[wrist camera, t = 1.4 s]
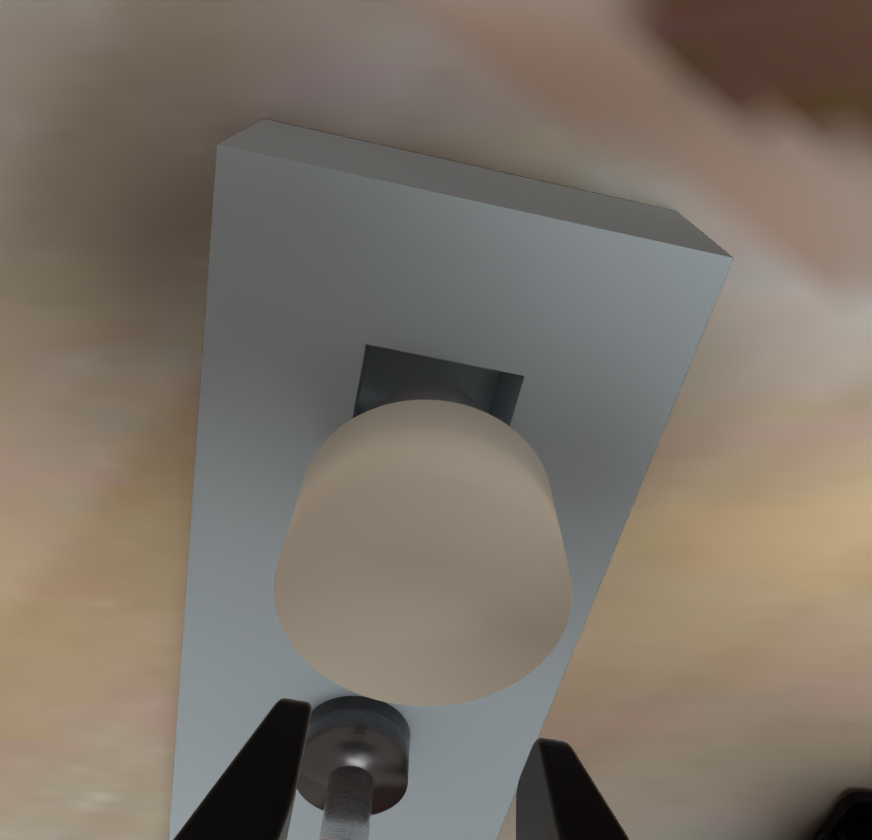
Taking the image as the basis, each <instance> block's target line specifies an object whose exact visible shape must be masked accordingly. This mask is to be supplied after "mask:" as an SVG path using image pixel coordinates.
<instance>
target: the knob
mask: <svg viewBox="0 0 872 840" xmlns="http://www.w3.org/2000/svg"><path fill="white" fill-rule="evenodd" d="M274 600H275V608H276V611H277V615H278V618H279V622H280V624H281V626H282V628H283V630H284V632H285V634H286V636H287V638H288V639H289V641H290V642H291V644H292V645H293V647H294V648H295V649H296V651H297V652H298V653H299V654H300V655H301V656H302V657H303V659H304V660H305V661H306V662H307V663H309V664H310V665H311V666H312V667H313V668H314V669H315V670H316V671H318V672H319V673H321V674H322V675H323V676H325V677H326V678H328V679H329V680H331V681H332V682H334V683H336V684H338V685H340V686H342V687H343V688H345V689H348V690H350V691H352V692H355V693H357V694H360V695H362V696H365V697H369V698H372V699H375V700H378V701H383V702H388V703H393V704H400V705H409V706H442V705H452V704H457V703H463V702H468V701H472V700H476V699H479V698H483V697H486V696H488V695H491V694H493V693H496V692H499V691H501V690H503V689H505V688H507V687H509V686H511V685H513V684H514V683H516V682H518V681H519V680H521V679H522V678H524V677H525V676H527V675H528V674H529V673H530V672H532V671H533V670H534V669H535V668H536V667H538V666H539V665H540V664H541V663H542V662H543V661H544V660H545V659H546V657H547V656H548V655H549V654H550V653H551V652H552V650H553V649H554V647H555V646H556V644H557V643H558V642H559V640H560V638H561V636H562V634H563V632H564V630H565V628H566V625H567V622H568V619H569V615H570V612H571V604H572V581H571V576H570V572H569V567H568V562H567V558H566V554H565V549H564V545H563V540H562V536H561V531H560V527H559V523H558V518H557V514H556V509H555V505H554V500H553V496H552V492H551V487H550V483H549V479H548V476H547V474H546V471H545V469H544V466H543V464H542V463H541V461H540V459H539V458H538V456H537V454H536V453H535V451H534V450H533V449H532V448H531V446H530V445H529V444H528V443H527V441H526V440H525V439H524V438H522V437H521V436H520V435H519V434H518V433H517V432H516V431H515V430H514V429H512V428H511V427H510V426H508V425H507V424H505V423H504V422H503V421H501V420H499V419H497V418H495V417H494V416H492V415H490V414H488V413H486V412H483V411H482V409H481V408H480V406H479V405H478V404H477V403H476V401H474V400H473V399H472V398H471V397H470V396H469V395H467V394H466V393H465V392H463V391H461V390H459V389H457V388H455V387H452V386H450V385H446V384H442V383H435V382H422V383H415V384H411V385H408V386H405V387H402V388H400V389H398V390H396V391H394V392H393V393H391V394H390V395H389V396H387V397H386V398H385V399H384V400H383V401H382V402H381V403H380V405H379V406H378V407H377V408H374V409H371V410H368V411H366V412H364V413H362V414H360V415H358V416H356V417H354V418H352V419H351V420H349V421H348V422H346V423H345V424H343V425H342V426H341V427H339V428H338V429H337V430H336V431H335V432H333V433H332V434H331V435H330V436H329V437H328V438H327V439H326V440H325V441H324V443H323V444H322V445H321V446H320V447H319V449H318V450H317V451H316V453H315V455H314V456H313V458H312V460H311V461H310V463H309V466H308V468H307V471H306V473H305V476H304V479H303V482H302V485H301V488H300V492H299V495H298V498H297V501H296V505H295V508H294V511H293V514H292V518H291V521H290V524H289V527H288V531H287V534H286V537H285V540H284V544H283V547H282V550H281V553H280V556H279V560H278V563H277V568H276V572H275V576H274Z"/></svg>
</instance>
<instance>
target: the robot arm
mask: <svg viewBox="0 0 872 840" xmlns="http://www.w3.org/2000/svg"><path fill="white" fill-rule="evenodd" d="M311 711H312V706H311V704H310V703H309V702H306V701H300V700H293V699H287V698H282V699H280V700H279V701H277V702H276V703H275V705H274V706H273V707H272V709H271V710H270V711H269V713H268V714H267V715H266V717H265V718H264V719H263V721H262V722H261V723H260V725H259V726H258V727H257V729H256V730H255V731H254V733H253V734H252V735H251V737H250V738H249V739H248V741H247V742H246V743H245V745H244V746H243V747H242V749H241V750H240V751H239V753H238V754H237V755H236V757H235V758H234V759H233V761H232V762H231V763H230V765H229V766H228V767H227V769H226V770H225V771H224V773H223V774H222V775H221V777H220V778H219V779H218V781H217V782H216V783H215V785H214V786H213V787H212V788H211V790H210V791H209V792H208V794H207V795H206V796H205V798H204V799H203V800H202V802H201V803H200V804H199V806H198V807H197V808H196V810H195V811H194V812H193V814H192V815H191V816H190V818H189V819H188V820H187V822H186V823H185V824H184V826H183V827H182V828H181V830H180V831H179V832H178V834H177V835H176V836H175V838H174V839H173V840H287V837H288V831H289V826H290V821H291V816H292V811H293V805H294V800H295V795H296V790H297V785H298V780H299V774H300V769H301V764H302V759H303V754H304V748H305V743H306V738H307V733H308V727H309V722H310V717H311ZM516 840H629V838H628V836H627V835H626V833H625V832H624V830H623V828H622V827H621V825H620V824H619V822H618V820H617V819H616V817H615V816H614V814H613V812H612V811H611V809H610V808H609V806H608V804H607V803H606V801H605V800H604V798H603V796H602V795H601V793H600V792H599V790H598V788H597V787H596V785H595V784H594V782H593V780H592V779H591V777H590V776H589V774H588V772H587V771H586V769H585V768H584V766H583V764H582V763H581V761H580V760H579V758H578V756H577V755H576V753H575V752H574V750H573V749H572V747H571V746H570V745H569V744H567V743H566V742H563V741H557V740H551V739H544V738H539V739H537V740H536V741H535V742H534V744H533V746H532V748H531V751H530V753H529V756H528V758H527V760H526V763H525V765H524V768H523V770H522V773H521V775H520V778H519V782H518V787H517V796H516ZM813 840H872V794H869V793H863V792H855V793H851V794H849V795H847V796H845V797H844V798H843V799H842V801H841V802H840V803H839V805H838V806H837V807H836V809H835V810H834V811H833V813H832V814H831V816H830V817H829V818H828V820H827V821H826V822H825V824H824V825H823V826H822V828H821V829H820V830H819V832H818V833H817V835H816V836H815V837H814V839H813Z"/></svg>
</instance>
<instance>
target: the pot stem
mask: <svg viewBox="0 0 872 840" xmlns="http://www.w3.org/2000/svg"><path fill="white" fill-rule="evenodd" d="M409 751H410V728H409V725H408V723H407V721H406V719H405V718H404V717H403V715H402V714H401V713H400V712H399V711H398V710H397V709H395V708H394V707H392V706H391V705H389V704H387V703H385V702H383V701H378V700H375V699H372V698H369V697H364V696H343V697H337V698H334V699H330V700H328V701H325V702H324V703H322V704H320V705H318V706H317V707H316V708H314V709H313V710H312V711H311V717H310V722H309V727H308V733H307V738H306V743H305V748H304V754H303V759H302V764H301V769H300V774H299V780H298V785H297V789H298V791H299V793H300V794H301V796H302V797H303V798H304V799H305V800H306V801H308V802H309V803H310V804H311V805H313V806H315V807H316V808H318V809H320V810H323V818H322V824H321V831H320V837H319V840H369V829H370V819H371V815H374V814H378V813H381V812H384V811H386V810H388V809H390V808H392V807H393V806H395V805H396V804H397V803H398V802H399V801H400V800H401V799H402V798H403V796H404V795H405V793H406V790H407V786H408V771H409Z"/></svg>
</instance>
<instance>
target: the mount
mask: <svg viewBox="0 0 872 840" xmlns="http://www.w3.org/2000/svg"><path fill="white" fill-rule="evenodd" d="M732 261H733V257H732V256H731V255H729V254H728V253H727V252H726V251H725V250H723V249H722V248H721V247H720V246H718V245H717V244H716V243H715V242H714V241H712V240H711V239H710V238H709V237H708V236H706V235H705V234H704V233H703V232H701V231H700V230H699V229H698V228H697V227H695V226H694V225H693V224H692V223H691V222H689V221H688V220H687V219H686V218H684V217H683V216H682V215H681V214H680V213H678V212H677V211H673V210H668V209H664V208H659V207H655V206H650V205H646V204H642V203H637V202H633V201H628V200H624V199H619V198H615V197H610V196H606V195H601V194H597V193H593V192H588V191H584V190H579V189H575V188H570V187H566V186H561V185H557V184H552V183H548V182H543V181H539V180H535V179H530V178H526V177H521V176H517V175H512V174H508V173H503V172H499V171H494V170H490V169H486V168H481V167H477V166H472V165H468V164H463V163H459V162H454V161H450V160H445V159H441V158H437V157H432V156H428V155H423V154H419V153H414V152H410V151H405V150H401V149H396V148H392V147H388V146H383V145H379V144H374V143H370V142H365V141H361V140H356V139H352V138H347V137H343V136H339V135H334V134H330V133H325V132H321V131H316V130H312V129H307V128H303V127H298V126H294V125H290V124H285V123H281V122H276V121H272V120H267V119H263V120H261V121H259V122H257V123H255V124H253V125H252V126H250V127H248V128H246V129H244V130H242V131H240V132H239V133H237V134H235V135H233V136H231V137H229V138H228V139H226V140H224V141H222V142H220V143H218V144H217V151H216V166H215V180H214V194H213V209H212V223H211V238H210V252H209V267H208V281H207V295H206V310H205V324H204V339H203V353H202V367H201V382H200V396H199V411H198V425H197V439H196V454H195V468H194V483H193V497H192V511H191V526H190V540H189V555H188V569H187V584H186V598H185V612H184V627H183V641H182V656H181V670H180V684H179V699H178V713H177V728H176V742H175V756H174V771H173V785H172V800H171V814H170V828H169V840H173V839H174V838H175V836H176V835H177V834H178V832H179V831H180V830H181V828H182V827H183V826H184V824H185V823H186V822H187V820H188V819H189V818H190V816H191V815H192V814H193V812H194V811H195V810H196V808H197V807H198V806H199V804H200V803H201V802H202V800H203V799H204V798H205V796H206V795H207V794H208V792H209V791H210V790H211V788H212V787H213V786H214V785H215V783H216V782H217V781H218V779H219V778H220V777H221V775H222V774H223V773H224V771H225V770H226V769H227V767H228V766H229V765H230V763H231V762H232V761H233V759H234V758H235V757H236V755H237V754H238V753H239V751H240V750H241V749H242V747H243V746H244V745H245V743H246V742H247V741H248V739H249V738H250V737H251V735H252V734H253V733H254V731H255V730H256V729H257V727H258V726H259V725H260V723H261V722H262V721H263V719H264V718H265V717H266V715H267V714H268V713H269V711H270V710H271V709H272V707H273V706H274V705H275V703H276V702H277V701H279V700H280V699H282V698H287V699H293V700H300V701H306V702H309V703H310V704H311V706H312V710H313V709H314V708H316V707H317V706H318V705H320V704H322V703H324V702H325V701H328V700H330V699H334V698H337V697H343V696H362V695H360V694H357V693H355V692H352V691H350V690H348V689H345V688H343V687H342V686H340V685H338V684H336V683H334V682H332V681H331V680H329V679H328V678H326V677H325V676H323V675H322V674H321V673H319V672H318V671H316V670H315V669H314V668H313V667H312V666H311V665H310V664H309V663H307V662H306V661H305V660H304V659H303V657H302V656H301V655H300V654H299V653H298V652H297V651H296V649H295V648H294V647H293V645H292V644H291V642H290V641H289V639H288V638H287V636H286V634H285V632H284V630H283V628H282V626H281V624H280V622H279V618H278V615H277V611H276V608H275V600H274V576H275V572H276V568H277V563H278V560H279V556H280V553H281V550H282V547H283V544H284V540H285V537H286V534H287V531H288V527H289V524H290V521H291V518H292V514H293V511H294V508H295V505H296V501H297V498H298V495H299V492H300V488H301V485H302V482H303V479H304V476H305V473H306V471H307V468H308V466H309V463H310V461H311V460H312V458H313V456H314V455H315V453H316V451H317V450H318V449H319V447H320V446H321V445H322V444H323V443H324V441H325V440H326V439H327V438H328V437H329V436H330V435H331V434H332V433H333V432H335V431H336V430H337V429H338V428H339V427H341V426H342V425H343V424H345V423H346V422H348V421H349V420H351V419H352V418H354V417H356V416H358V415H360V414H362V413H364V412H366V411H368V410H371V409H374V408H377V407H378V406H379V405H380V403H381V402H382V401H383V400H384V399H385V398H386V397H387V396H389V395H390V394H391V393H393V392H394V391H396V390H398V389H400V388H402V387H405V386H408V385H411V384H415V383H422V382H435V383H442V384H446V385H450V386H452V387H455V388H457V389H459V390H461V391H463V392H465V393H466V394H467V395H469V396H470V397H471V398H472V399H473V400H474V401H476V403H477V404H478V405H479V406H480V408H481V409H482V411H483V412H486V413H488V414H490V415H492V416H494V417H495V418H497V419H499V420H501V421H503V422H504V423H505V424H507V425H508V426H510V427H511V428H512V429H514V430H515V431H516V432H517V433H518V434H519V435H520V436H521V437H522V438H524V439H525V440H526V441H527V443H528V444H529V445H530V446H531V448H532V449H533V450H534V451H535V453H536V454H537V456H538V458H539V459H540V461H541V463H542V464H543V466H544V469H545V471H546V474H547V476H548V479H549V483H550V487H551V492H552V496H553V500H554V505H555V509H556V514H557V518H558V523H559V527H560V531H561V536H562V540H563V545H564V549H565V554H566V558H567V562H568V567H569V572H570V576H571V581H572V604H571V612H570V615H569V619H568V622H567V625H566V628H565V630H564V632H563V634H562V636H561V638H560V640H559V642H558V643H557V644H556V646H555V647H554V649H553V650H552V652H551V653H550V654H549V655H548V656H547V657H546V659H545V660H544V661H543V662H542V663H541V664H540V665H539V666H538V667H536V668H535V669H534V670H533V671H532V672H530V673H529V674H528V675H527V676H525V677H524V678H522V679H521V680H519V681H518V682H516V683H514V684H513V685H511V686H509V687H507V688H505V689H503V690H501V691H499V692H496V693H493V694H491V695H488V696H486V697H483V698H479V699H476V700H472V701H468V702H463V703H457V704H452V705H442V706H409V705H400V704H393V703H388V702H385V703H387V704H389V705H391V706H392V707H394V708H395V709H397V710H398V711H399V712H400V713H401V714H402V715H403V717H404V718H405V719H406V721H407V723H408V725H409V728H410V751H409V771H408V786H407V790H406V793H405V795H404V796H403V798H402V799H401V800H400V801H399V802H398V803H397V804H396V805H395V806H393V807H392V808H390V809H388V810H386V811H384V812H381V813H378V814H374V815H371V819H370V829H369V840H496V838H497V836H498V833H499V831H500V829H501V826H502V824H503V821H504V819H505V816H506V814H507V811H508V809H509V807H510V804H511V802H512V799H513V797H514V794H515V792H516V789H517V787H518V782H519V778H520V775H521V773H522V770H523V768H524V765H525V763H526V760H527V758H528V756H529V753H530V751H531V748H532V746H533V744H534V742H535V741H536V740H537V738H538V736H539V733H540V731H541V728H542V726H543V723H544V721H545V718H546V716H547V714H548V711H549V709H550V706H551V704H552V701H553V699H554V696H555V694H556V692H557V689H558V687H559V684H560V682H561V679H562V677H563V674H564V672H565V670H566V667H567V665H568V662H569V660H570V657H571V655H572V652H573V650H574V647H575V645H576V643H577V640H578V638H579V635H580V633H581V630H582V628H583V625H584V623H585V621H586V618H587V616H588V613H589V611H590V608H591V606H592V603H593V601H594V599H595V596H596V594H597V591H598V589H599V586H600V584H601V581H602V579H603V577H604V574H605V572H606V569H607V567H608V564H609V562H610V559H611V557H612V555H613V552H614V550H615V547H616V545H617V542H618V540H619V537H620V535H621V532H622V530H623V528H624V525H625V523H626V520H627V518H628V515H629V513H630V510H631V508H632V506H633V503H634V501H635V498H636V496H637V493H638V491H639V488H640V486H641V484H642V481H643V479H644V476H645V474H646V471H647V469H648V466H649V464H650V462H651V459H652V457H653V454H654V452H655V449H656V447H657V444H658V442H659V440H660V437H661V435H662V432H663V430H664V427H665V425H666V422H667V420H668V417H669V415H670V413H671V410H672V408H673V405H674V403H675V400H676V398H677V395H678V393H679V391H680V388H681V386H682V383H683V381H684V378H685V376H686V373H687V371H688V369H689V366H690V364H691V361H692V359H693V356H694V354H695V351H696V349H697V347H698V344H699V342H700V339H701V337H702V334H703V332H704V329H705V327H706V325H707V322H708V320H709V317H710V315H711V312H712V310H713V307H714V305H715V302H716V300H717V298H718V295H719V293H720V290H721V288H722V285H723V283H724V280H725V278H726V276H727V273H728V271H729V268H730V266H731V263H732ZM364 697H365V696H364ZM322 818H323V810H320V809H318V808H316V807H315V806H313V805H311V804H310V803H309V802H308V801H306V800H305V799H304V798H303V797H302V796H301V794H300V793H299V791H298V789H297V790H296V795H295V800H294V805H293V811H292V816H291V821H290V826H289V831H288V837H287V840H319V837H320V831H321V824H322Z"/></svg>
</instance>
